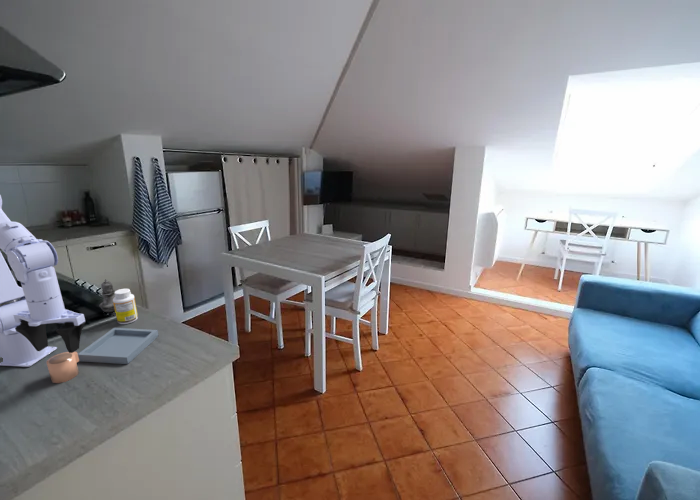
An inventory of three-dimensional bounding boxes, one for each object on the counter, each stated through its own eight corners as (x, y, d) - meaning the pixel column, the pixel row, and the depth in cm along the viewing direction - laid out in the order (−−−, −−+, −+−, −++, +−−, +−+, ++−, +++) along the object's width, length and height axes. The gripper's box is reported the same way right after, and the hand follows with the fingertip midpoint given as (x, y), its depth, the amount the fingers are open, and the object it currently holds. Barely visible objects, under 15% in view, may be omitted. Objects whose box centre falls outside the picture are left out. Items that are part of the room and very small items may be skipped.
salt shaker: (112, 318, 104) (105, 283, 100) (96, 316, 105) (89, 281, 101) (127, 310, 109) (121, 276, 106) (112, 307, 111) (106, 274, 107)
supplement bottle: (125, 315, 106) (119, 286, 103) (142, 316, 106) (137, 287, 103) (112, 324, 101) (106, 294, 97) (131, 325, 101) (125, 295, 97)
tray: (78, 361, 84) (76, 354, 83) (115, 333, 96) (114, 327, 95) (128, 364, 83) (126, 357, 83) (158, 336, 96) (157, 330, 95)
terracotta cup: (45, 382, 76) (40, 364, 75) (69, 365, 82) (64, 348, 81) (66, 383, 76) (61, 365, 74) (88, 366, 82) (84, 349, 80)
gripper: (-8, 303, 68) (10, 358, 72) (59, 306, 68) (74, 361, 72) (25, 289, 75) (40, 340, 79) (87, 292, 75) (98, 343, 79)
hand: (58, 349), depth 76 cm, fingers open, 7 cm apart
